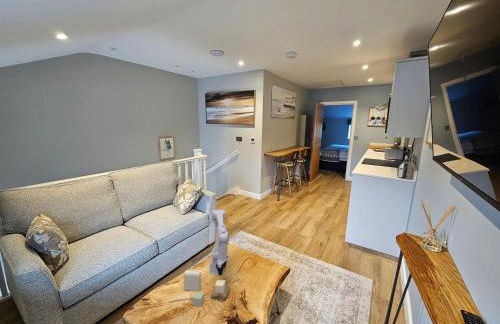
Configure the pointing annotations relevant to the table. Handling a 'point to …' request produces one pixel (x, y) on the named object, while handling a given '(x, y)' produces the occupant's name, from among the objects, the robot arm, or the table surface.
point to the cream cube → (220, 286)
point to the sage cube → (198, 298)
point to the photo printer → (192, 280)
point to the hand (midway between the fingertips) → (222, 271)
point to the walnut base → (221, 296)
